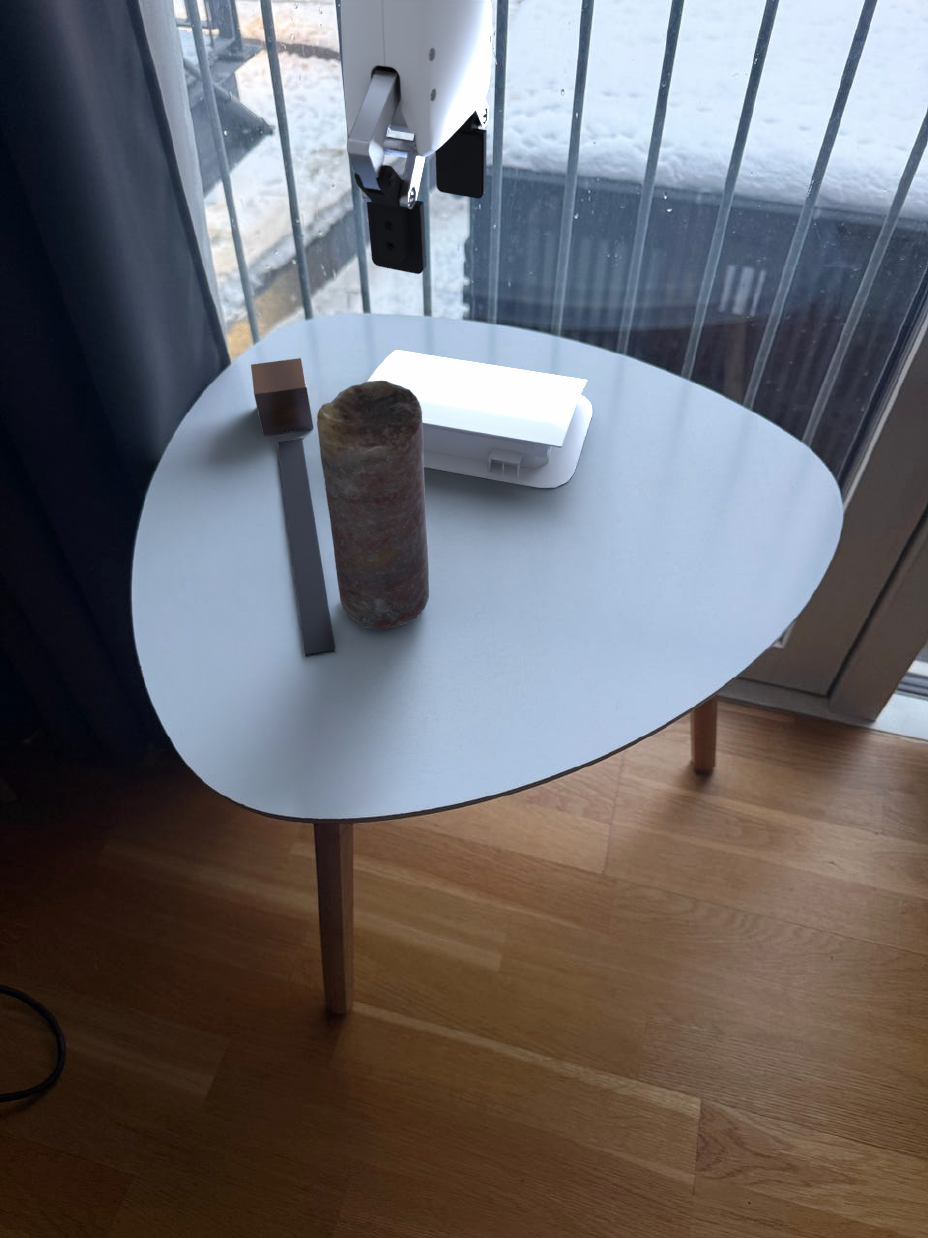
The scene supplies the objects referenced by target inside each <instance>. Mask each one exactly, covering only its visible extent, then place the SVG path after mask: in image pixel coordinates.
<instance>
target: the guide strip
mask: <svg viewBox="0 0 928 1238" xmlns="http://www.w3.org/2000/svg"><path fill="white" fill-rule="evenodd" d="M277 450H278V457H279V458H278V459H279V466H280V472H281V473H280V474H281V481H282V489H283V497H284V504H285V511H286V512H285V513H286V519H287V526H288V535H289V543H290V550H291V559H292V566H293V567H292V568H293V574H294V582H295V590H296V598H297V605H298V606H297V607H298V612H299V613H298V614H299V620H300V627H301V636H302V644H303V651H304V657H311V656H317V655H322V654H329V653H334V652H336V647H335V641H334V634H333V627H332V621H331V614H330V609H329V603H328V602H329V601H328V596H327V595H328V594H327V590H326V584H325V577H324V571H323V564H322V558H321V551H320V545H319V538H318V532H317V526H316V518H315V512H314V507H313V506H314V505H313V500H312V495H311V494H312V493H311V487H310V481H309V475H308V474H309V473H308V469H307V468H308V467H307V461H306V455H305V448H304V442H303V438H301V437H299V438H294V439H286V440H280V441H279V440H278V441H277Z"/></svg>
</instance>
